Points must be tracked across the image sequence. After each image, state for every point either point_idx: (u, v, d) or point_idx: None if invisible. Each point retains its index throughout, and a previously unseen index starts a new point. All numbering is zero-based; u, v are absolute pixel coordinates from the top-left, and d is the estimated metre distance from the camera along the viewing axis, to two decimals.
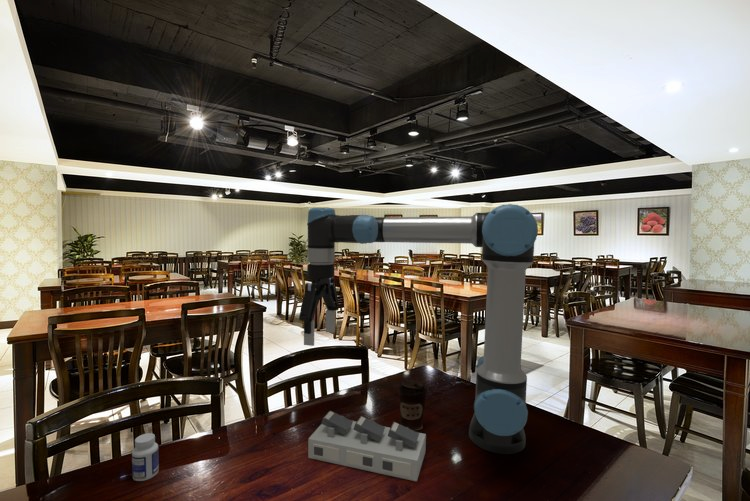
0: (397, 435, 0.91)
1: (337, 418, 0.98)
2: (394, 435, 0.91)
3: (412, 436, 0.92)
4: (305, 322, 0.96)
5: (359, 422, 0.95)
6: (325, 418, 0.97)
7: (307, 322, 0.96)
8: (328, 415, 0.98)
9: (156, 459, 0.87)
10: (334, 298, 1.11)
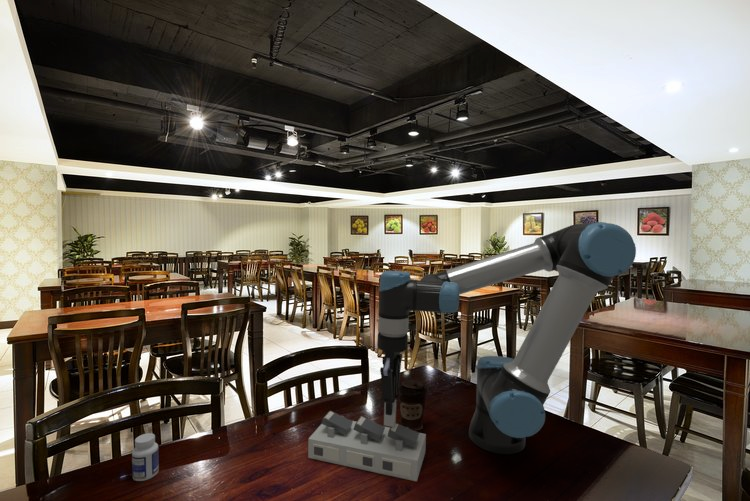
0: (397, 435, 0.91)
1: (337, 418, 0.98)
2: (394, 435, 0.91)
3: (412, 436, 0.92)
4: (387, 403, 0.91)
5: (359, 422, 0.95)
6: (325, 418, 0.97)
7: (389, 403, 0.91)
8: (328, 415, 0.98)
9: (156, 459, 0.87)
10: None
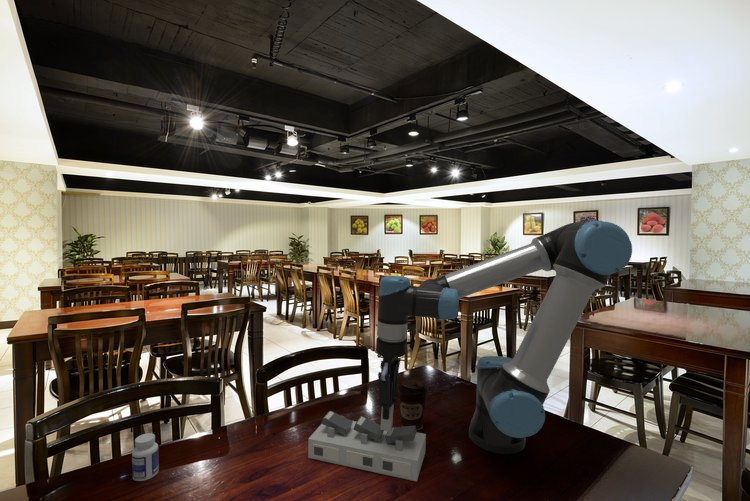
0: (393, 437, 0.91)
1: (337, 418, 0.98)
2: (391, 439, 0.91)
3: (408, 431, 0.92)
4: (384, 408, 0.92)
5: (359, 422, 0.95)
6: (325, 418, 0.97)
7: (386, 408, 0.92)
8: (328, 415, 0.98)
9: (156, 459, 0.87)
10: (395, 383, 0.96)
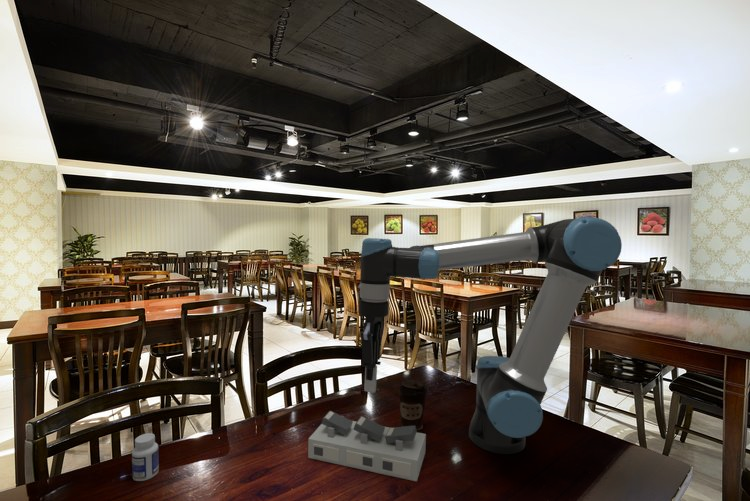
0: (393, 437, 0.91)
1: (337, 418, 0.98)
2: (391, 439, 0.91)
3: (408, 430, 0.92)
4: (367, 368, 0.92)
5: (359, 422, 0.95)
6: (325, 418, 0.97)
7: (370, 368, 0.92)
8: (328, 415, 0.98)
9: (156, 459, 0.87)
10: (378, 346, 0.97)
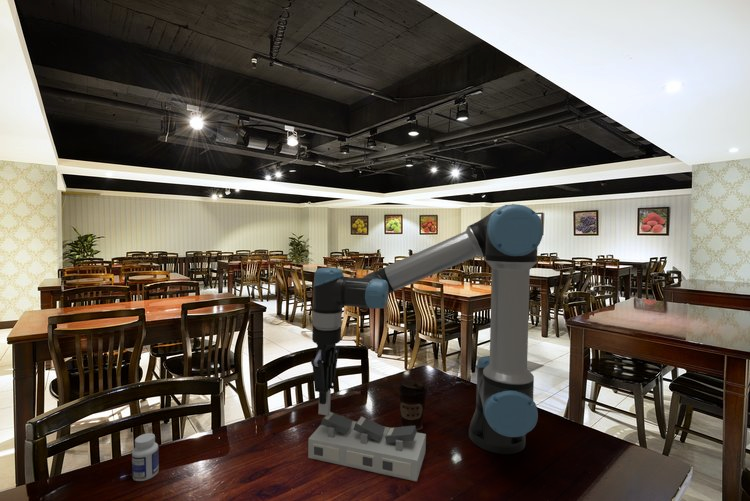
0: (393, 437, 0.91)
1: (337, 418, 0.98)
2: (391, 439, 0.91)
3: (408, 430, 0.92)
4: (320, 393, 0.97)
5: (359, 422, 0.95)
6: (324, 419, 0.97)
7: (322, 393, 0.97)
8: None
9: (156, 459, 0.87)
10: (333, 370, 1.01)
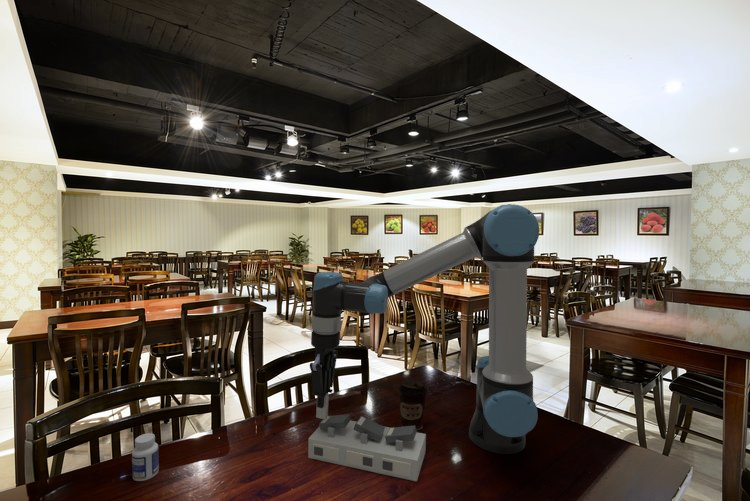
0: (393, 437, 0.91)
1: (334, 418, 0.99)
2: (391, 439, 0.91)
3: (408, 430, 0.92)
4: (318, 396, 0.97)
5: (359, 422, 0.95)
6: (321, 423, 0.97)
7: (320, 397, 0.97)
8: (324, 419, 0.99)
9: (156, 459, 0.87)
10: (331, 374, 1.01)
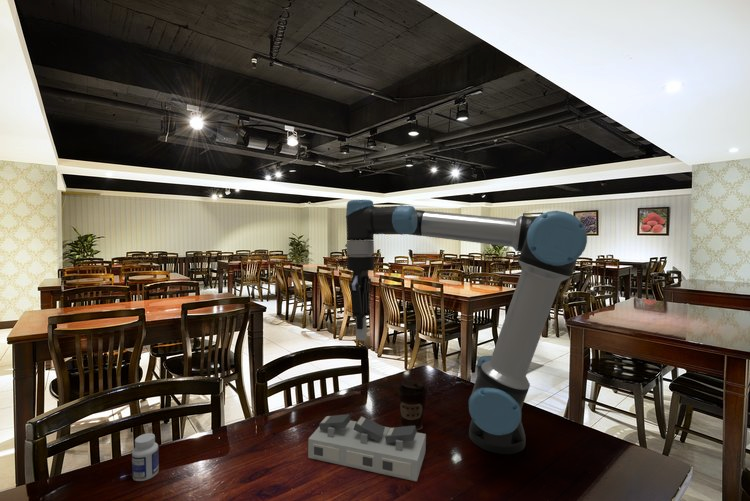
0: (393, 437, 0.91)
1: (334, 418, 0.99)
2: (391, 439, 0.91)
3: (408, 430, 0.92)
4: (358, 318, 1.02)
5: (359, 422, 0.95)
6: (321, 423, 0.97)
7: (360, 318, 1.02)
8: (324, 420, 0.99)
9: (156, 459, 0.87)
10: (366, 300, 1.06)
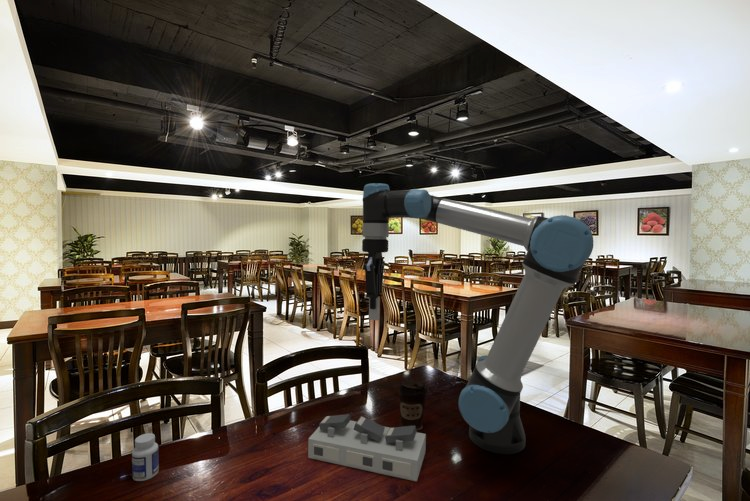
0: (393, 437, 0.91)
1: (334, 418, 0.99)
2: (391, 439, 0.91)
3: (408, 430, 0.92)
4: (371, 298, 1.05)
5: (359, 422, 0.95)
6: (321, 423, 0.97)
7: (373, 298, 1.05)
8: (324, 420, 0.99)
9: (156, 459, 0.87)
10: (380, 281, 1.10)
